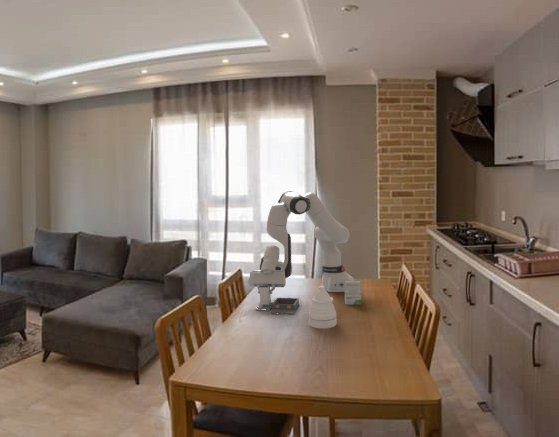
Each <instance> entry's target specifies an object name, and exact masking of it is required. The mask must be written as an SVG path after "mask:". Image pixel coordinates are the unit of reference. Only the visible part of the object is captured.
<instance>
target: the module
mask: <svg viewBox="0 0 559 437" xmlns="http://www.w3.org/2000/svg"><path fill="white" fill-rule="evenodd" d="M259 287H260V288H259V289H260V294H259V304H269V303H270V302H272V296H271V295H272V294H269V290H271V287H270V284H260V285H259Z"/></svg>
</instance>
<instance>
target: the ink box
mask: <svg viewBox="0 0 559 437" xmlns="http://www.w3.org/2000/svg"><path fill="white" fill-rule="evenodd" d="M344 303H345V304H344V305H347V306H348V305H349V306H352V305H357V306H358V305H362V282H361V280H354V281H345V292H344Z"/></svg>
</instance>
